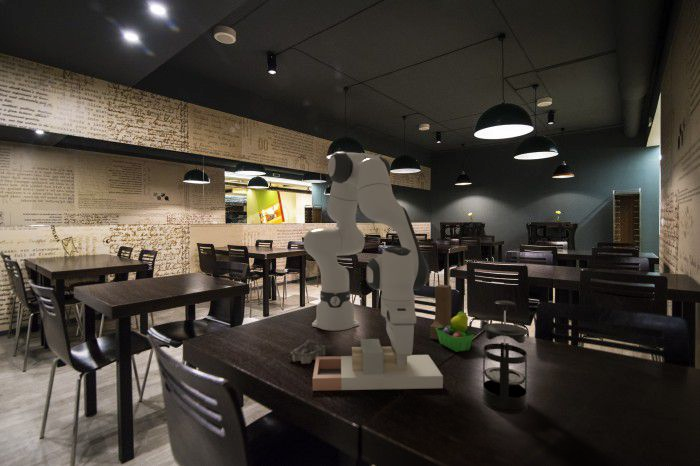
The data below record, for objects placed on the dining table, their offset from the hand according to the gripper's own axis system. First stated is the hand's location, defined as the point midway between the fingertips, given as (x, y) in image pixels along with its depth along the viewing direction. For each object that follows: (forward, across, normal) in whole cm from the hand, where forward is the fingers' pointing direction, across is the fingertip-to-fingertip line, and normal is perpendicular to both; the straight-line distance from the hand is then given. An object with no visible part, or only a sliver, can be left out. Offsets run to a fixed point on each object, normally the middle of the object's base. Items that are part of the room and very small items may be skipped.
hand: (397, 360), depth 92 cm
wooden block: (+4, -32, +21) cm, 39 cm away
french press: (+5, +14, +22) cm, 26 cm away
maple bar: (+1, 0, -5) cm, 5 cm away
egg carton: (+5, -15, -25) cm, 29 cm away
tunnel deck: (+4, 0, -6) cm, 7 cm away
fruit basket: (+5, -22, +23) cm, 32 cm away
